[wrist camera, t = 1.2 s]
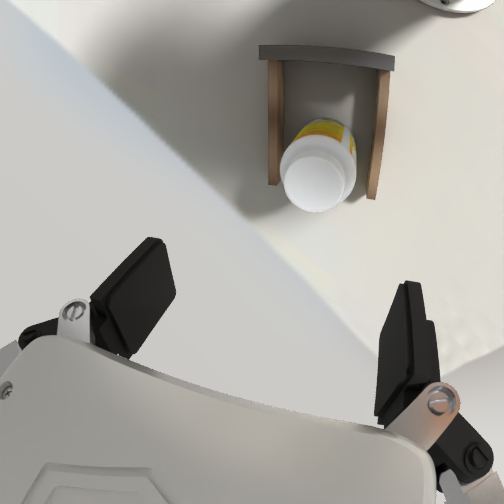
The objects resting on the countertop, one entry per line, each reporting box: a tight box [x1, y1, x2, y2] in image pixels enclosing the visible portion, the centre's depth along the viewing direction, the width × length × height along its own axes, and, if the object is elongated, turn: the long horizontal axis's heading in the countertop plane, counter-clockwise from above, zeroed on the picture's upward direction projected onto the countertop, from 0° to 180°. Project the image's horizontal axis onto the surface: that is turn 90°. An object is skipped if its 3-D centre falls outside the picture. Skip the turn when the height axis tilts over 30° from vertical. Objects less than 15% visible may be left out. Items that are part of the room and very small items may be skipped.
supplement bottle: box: [280, 118, 356, 213], centre depth 23 cm, size 6×6×10 cm
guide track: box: [259, 45, 395, 200], centre depth 23 cm, size 13×10×5 cm
